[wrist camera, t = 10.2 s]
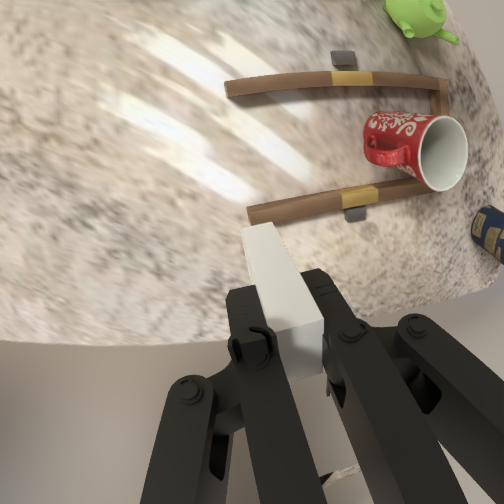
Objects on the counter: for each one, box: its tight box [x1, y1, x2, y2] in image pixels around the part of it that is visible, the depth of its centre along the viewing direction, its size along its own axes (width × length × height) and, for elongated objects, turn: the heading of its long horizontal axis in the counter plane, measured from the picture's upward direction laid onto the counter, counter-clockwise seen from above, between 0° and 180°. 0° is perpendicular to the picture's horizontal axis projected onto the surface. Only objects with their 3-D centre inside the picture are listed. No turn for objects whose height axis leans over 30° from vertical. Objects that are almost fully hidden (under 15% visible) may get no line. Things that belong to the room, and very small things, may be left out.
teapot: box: [383, 0, 458, 45], centre depth 24 cm, size 11×12×8 cm
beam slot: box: [224, 51, 449, 226], centre depth 36 cm, size 25×34×2 cm
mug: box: [363, 111, 468, 192], centre depth 31 cm, size 13×9×14 cm
